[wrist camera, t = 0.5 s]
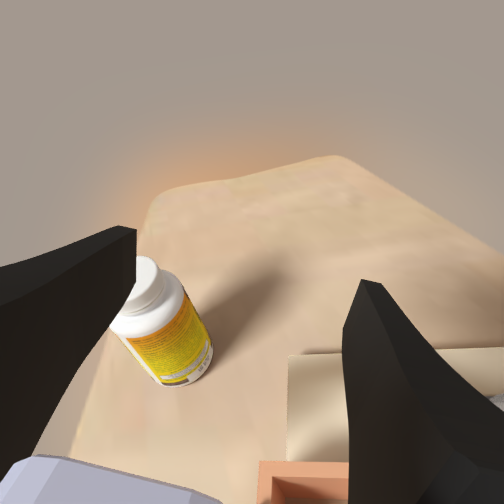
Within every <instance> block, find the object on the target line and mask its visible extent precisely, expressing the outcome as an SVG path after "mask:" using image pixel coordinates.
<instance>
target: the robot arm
mask: <svg viewBox="0 0 504 504" xmlns="http://www.w3.org/2000/svg"><path fill="white" fill-rule="evenodd" d="M136 245H137V230H136V229H132V228H128V227H123V226H115V227H112V228H109V229H106V230H104V231H101V232H99V233H96V234H94V235H91V236H89V237H86V238H84V239H81V240H79V241H77V242H74V243H72V244H69V245H67V246H64V247H62V248H59V249H56V250H53V251H50V252H48V253H45V254H42V255H39V256H36V257H33V258H30V259H27V260H24V261H20V262H17V263H14V264H10V265H6V266H2V267H0V504H223V503H222V502H221V501H219V500H217V499H215V498H212V497H210V496H208V495H205V494H203V493H200V492H198V491H195V490H193V489H189V488H185V487H181V486H177V485H173V484H170V483H166V482H162V481H158V480H154V479H150V478H146V477H142V476H138V475H134V474H130V473H126V472H122V471H119V470H115V469H111V468H107V467H103V466H99V465H95V464H91V463H87V462H83V461H79V460H75V459H71V458H67V457H62V456H51V455H41V454H38V455H35V456H31V455H32V453H33V451H34V449H35V447H36V445H37V443H38V441H39V439H40V437H41V435H42V433H43V431H44V429H45V427H46V425H47V424H48V422H49V420H50V418H51V416H52V414H53V413H54V411H55V409H56V407H57V405H58V403H59V402H60V400H61V398H62V396H63V394H64V393H65V391H66V389H67V387H68V386H69V384H70V382H71V381H72V379H73V377H74V375H75V374H76V372H77V370H78V368H79V367H80V366H81V364H82V363H83V361H84V360H85V358H86V357H87V355H88V354H89V353H90V351H91V350H92V348H93V347H94V346H95V345H96V343H97V342H98V340H99V339H100V338H101V336H102V335H103V334H104V332H105V331H106V330H107V328H108V327H109V326H110V324H111V323H112V321H113V320H114V319H115V317H116V316H117V314H118V313H119V312H120V310H121V309H122V307H123V306H124V304H125V302H126V300H127V299H128V297H129V295H130V293H131V291H132V289H133V287H134V285H135V283H136ZM342 366H343V376H344V386H345V396H346V406H347V416H348V429H349V477H348V504H504V411H503V410H501V409H500V408H499V407H497V406H496V405H495V404H494V403H492V402H491V401H490V400H489V399H487V398H486V397H485V396H484V395H483V394H481V393H480V392H479V391H478V390H476V389H475V388H474V387H473V386H472V385H471V384H470V383H468V382H467V381H466V380H465V379H464V378H463V377H462V376H461V375H460V374H459V373H458V372H456V371H455V370H454V369H453V368H452V367H451V366H450V365H449V364H448V363H447V362H446V361H445V360H444V359H443V358H442V357H441V356H440V355H439V354H438V353H437V352H436V351H435V349H434V348H433V347H432V346H431V345H430V344H429V343H428V342H427V341H426V339H425V338H424V337H423V336H422V335H421V334H420V332H419V331H418V330H417V329H416V328H415V326H414V325H413V324H412V323H411V321H410V320H409V319H408V318H407V316H406V315H405V314H404V313H403V311H402V310H401V309H400V307H399V306H398V305H397V303H396V302H395V301H394V299H393V298H392V297H391V295H390V294H389V293H388V291H387V290H386V289H385V288H384V286H383V285H382V284H381V283H377V282H373V281H368V280H364V279H361V281H360V284H359V286H358V289H357V292H356V295H355V297H354V300H353V303H352V305H351V308H350V311H349V313H348V316H347V319H346V321H345V324H344V327H343V336H342Z"/></svg>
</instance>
